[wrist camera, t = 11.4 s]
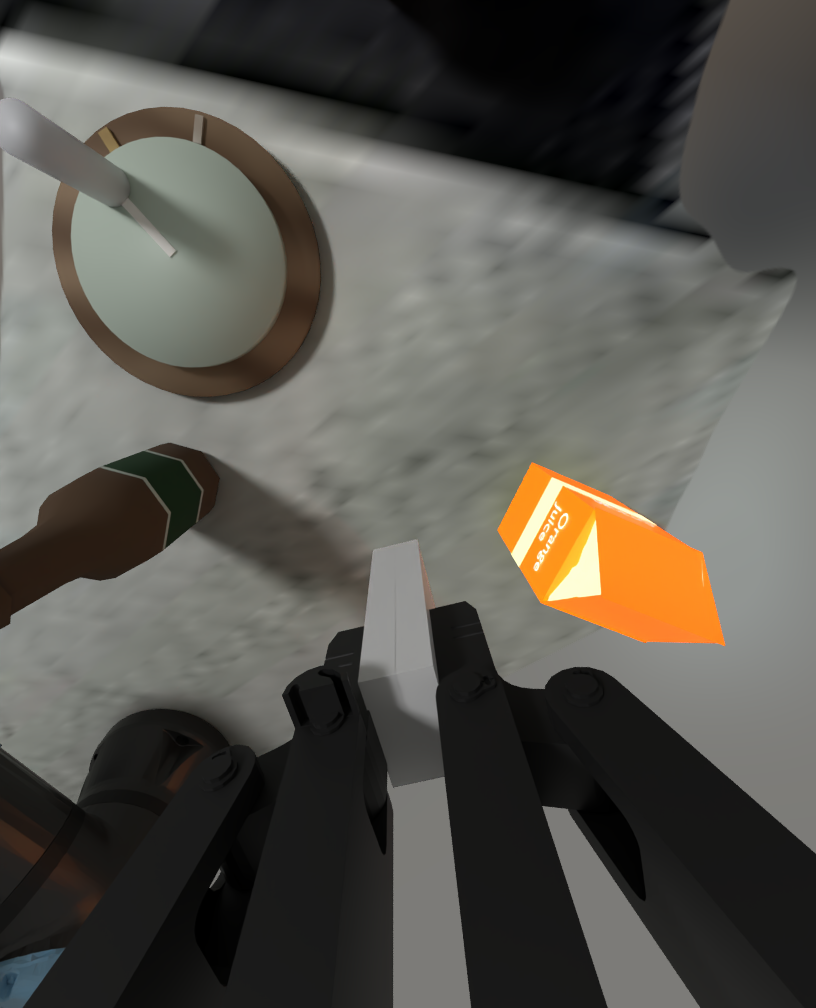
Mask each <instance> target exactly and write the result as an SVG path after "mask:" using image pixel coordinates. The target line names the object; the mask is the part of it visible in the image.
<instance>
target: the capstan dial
mask: <svg viewBox="0 0 816 1008" xmlns="http://www.w3.org/2000/svg"><path fill="white" fill-rule="evenodd" d="M0 147H1V148H2V149H3V150H4V151H6V152H7V153H9V154H10V155H12V156H14V157H16V158H18V159H20V160H21V161H23V162H25V163H27V164H29V165H31V166H33V167H35V168H37V169H38V170H40V171H42V172H44V173H46V174H48V175H50V176H52V177H54V178H55V179H57V180H59V181H61V182H63V183H65V184H67V185H69V186H71V187H72V188H74V189H76V190H78V191H79V194H78V197H77V200H76V203H75V206H74V211H73V216H72V224H71V245H72V254H73V260H74V265H75V269H76V272H77V275H78V278H79V281H80V284H81V286H82V288H83V291H84V293H85V295H86V297H87V299H88V300H89V302H90V304H91V306H92V307H93V309H94V310H95V312H96V313H97V315H98V316H99V317H100V319H101V320H102V321H103V322H104V324H105V325H106V326H107V327H108V328H109V329H110V330H111V331H112V332H113V333H114V334H115V335H116V336H117V337H118V338H119V339H121V340H122V341H123V342H124V343H126V344H127V345H128V346H130V347H131V348H133V349H134V350H136V351H138V352H139V353H141V354H143V355H145V356H147V357H149V358H151V359H154V360H156V361H159V362H162V363H166V364H169V365H173V366H180V367H210V366H217V365H221V364H225V363H228V362H231V361H233V360H236V359H238V358H240V357H242V356H244V355H245V354H247V353H248V352H250V351H251V350H252V349H254V348H255V347H256V346H257V345H258V344H259V343H260V342H261V341H262V340H263V339H264V338H265V337H266V336H267V334H268V333H269V332H270V330H271V329H272V327H273V325H274V324H275V322H276V320H277V318H278V316H279V314H280V311H281V308H282V305H283V302H284V298H285V293H286V287H287V257H286V252H285V246H284V242H283V239H282V235H281V232H280V229H279V226H278V224H277V222H276V220H275V217H274V215H273V213H272V211H271V210H270V208H269V206H268V205H267V203H266V201H265V200H264V199H263V197H262V196H261V194H260V193H259V192H258V190H257V189H256V188H255V187H254V185H253V184H252V183H251V182H250V181H249V180H248V179H247V177H246V176H245V175H244V174H243V173H242V172H241V171H240V170H239V169H238V168H237V167H235V166H234V165H233V164H232V163H231V162H229V161H228V160H227V159H225V158H224V157H222V156H221V155H219V154H218V153H216V152H215V151H213V150H211V149H209V148H206V147H204V146H202V145H200V144H197V143H194V142H191V141H188V140H185V139H179V138H173V137H151V138H143V139H139V140H136V141H132V142H129V143H127V144H125V145H123V146H121V147H119V148H117V149H115V150H113V151H112V152H111V153H109V154H108V155H107V156H105V157H103V156H101V155H100V154H98V153H97V152H96V151H94V150H93V149H91V148H90V147H88V146H87V145H85V144H84V143H83V142H81V141H80V140H78V139H77V138H75V137H74V136H72V135H71V134H70V133H68V132H67V131H65V130H64V129H62V128H61V127H59V126H58V125H56V124H55V123H54V122H52V121H51V120H49V119H48V118H46V117H45V116H43V115H42V114H41V113H39V112H38V111H36V110H35V109H33V108H32V107H30V106H29V105H28V104H26V103H25V102H23V101H21V100H19V99H16V98H4V99H1V100H0Z"/></svg>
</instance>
